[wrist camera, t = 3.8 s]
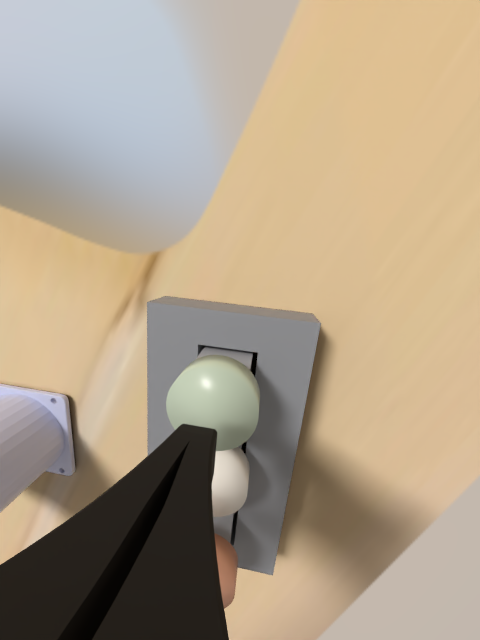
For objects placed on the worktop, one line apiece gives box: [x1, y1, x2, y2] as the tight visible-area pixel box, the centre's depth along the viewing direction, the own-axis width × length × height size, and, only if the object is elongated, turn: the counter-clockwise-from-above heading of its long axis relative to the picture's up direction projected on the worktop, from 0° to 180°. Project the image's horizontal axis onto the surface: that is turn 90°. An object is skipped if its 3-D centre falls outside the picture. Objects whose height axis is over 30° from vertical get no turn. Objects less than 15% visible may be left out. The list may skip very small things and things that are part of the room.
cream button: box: [212, 444, 250, 517], centre depth 16 cm, size 4×4×4 cm
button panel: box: [147, 296, 321, 575], centre depth 17 cm, size 20×10×2 cm, turn 174°
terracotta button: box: [213, 513, 238, 608], centre depth 16 cm, size 4×4×4 cm
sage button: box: [166, 346, 260, 451], centre depth 13 cm, size 4×4×4 cm
